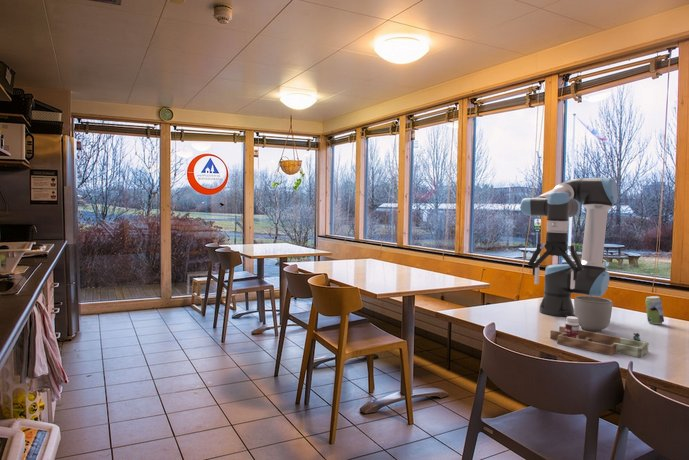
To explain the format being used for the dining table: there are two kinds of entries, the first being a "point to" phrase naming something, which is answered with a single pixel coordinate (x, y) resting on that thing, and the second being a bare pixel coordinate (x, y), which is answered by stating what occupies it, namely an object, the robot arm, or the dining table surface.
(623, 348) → the open divided box
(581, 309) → the planter
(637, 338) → the sculpture
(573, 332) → the pill bottle
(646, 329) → the dining table surface
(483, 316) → the dining table surface
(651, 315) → the beverage can
